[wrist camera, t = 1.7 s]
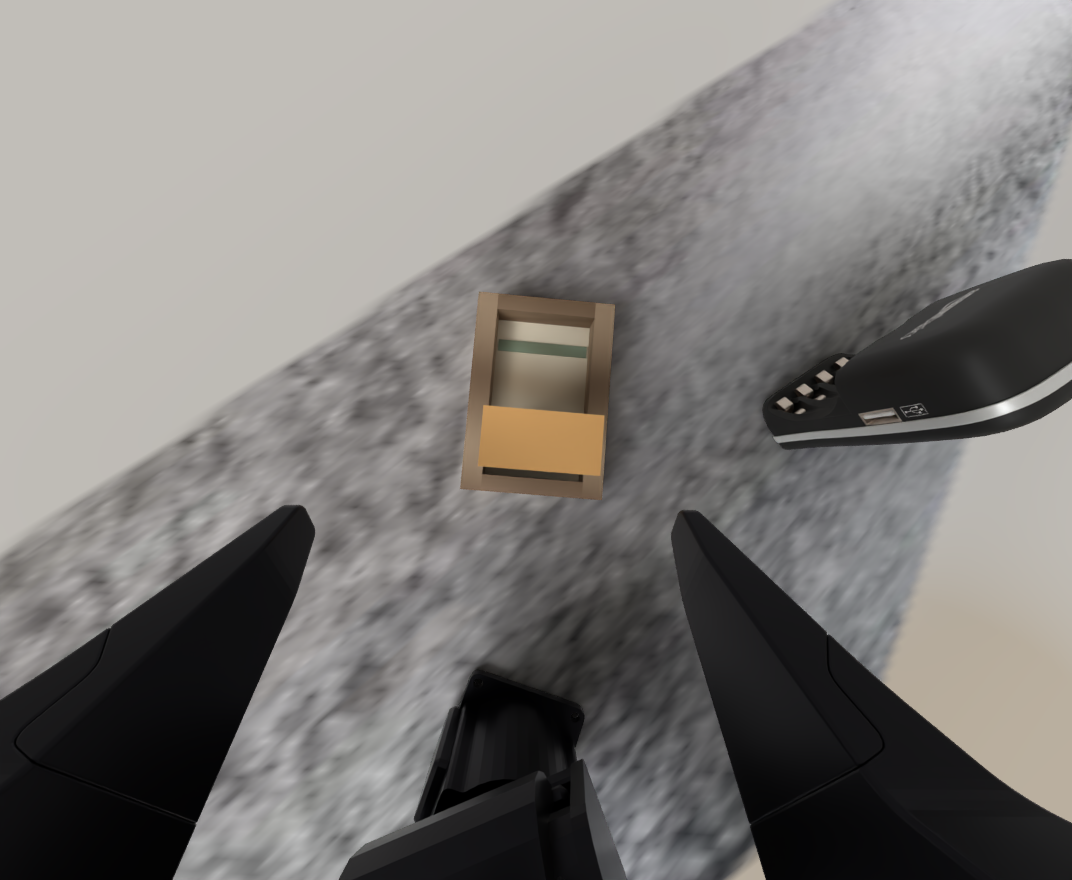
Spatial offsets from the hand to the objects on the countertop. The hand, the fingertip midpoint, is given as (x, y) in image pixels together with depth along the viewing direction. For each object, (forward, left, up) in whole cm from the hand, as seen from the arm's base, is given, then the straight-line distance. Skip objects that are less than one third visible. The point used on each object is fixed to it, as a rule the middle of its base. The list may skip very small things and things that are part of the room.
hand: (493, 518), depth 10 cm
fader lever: (-1, -2, -11) cm, 11 cm away
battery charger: (-15, -11, -13) cm, 23 cm away
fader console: (0, -5, -13) cm, 14 cm away
